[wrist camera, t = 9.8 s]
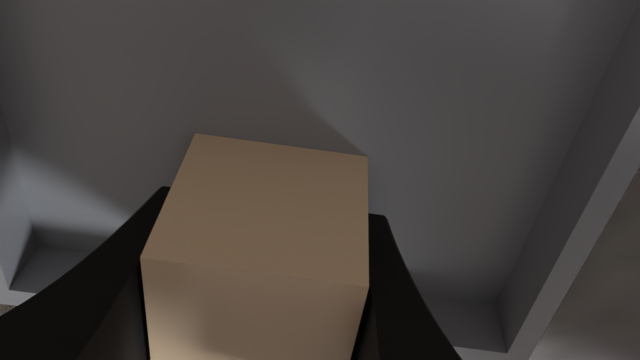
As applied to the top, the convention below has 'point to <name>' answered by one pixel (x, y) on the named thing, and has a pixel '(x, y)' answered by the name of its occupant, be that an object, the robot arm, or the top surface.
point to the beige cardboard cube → (258, 254)
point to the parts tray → (336, 131)
